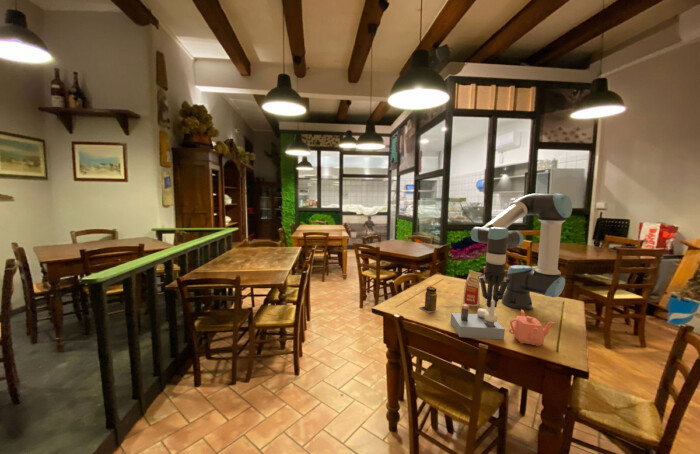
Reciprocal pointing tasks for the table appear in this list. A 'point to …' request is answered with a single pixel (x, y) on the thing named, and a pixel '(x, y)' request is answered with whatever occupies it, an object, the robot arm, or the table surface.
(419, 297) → the table surface
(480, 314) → the knob
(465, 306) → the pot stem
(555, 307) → the table surface
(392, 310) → the table surface
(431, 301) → the condiment
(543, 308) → the table surface
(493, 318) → the knob
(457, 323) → the mount
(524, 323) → the teapot
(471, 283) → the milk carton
